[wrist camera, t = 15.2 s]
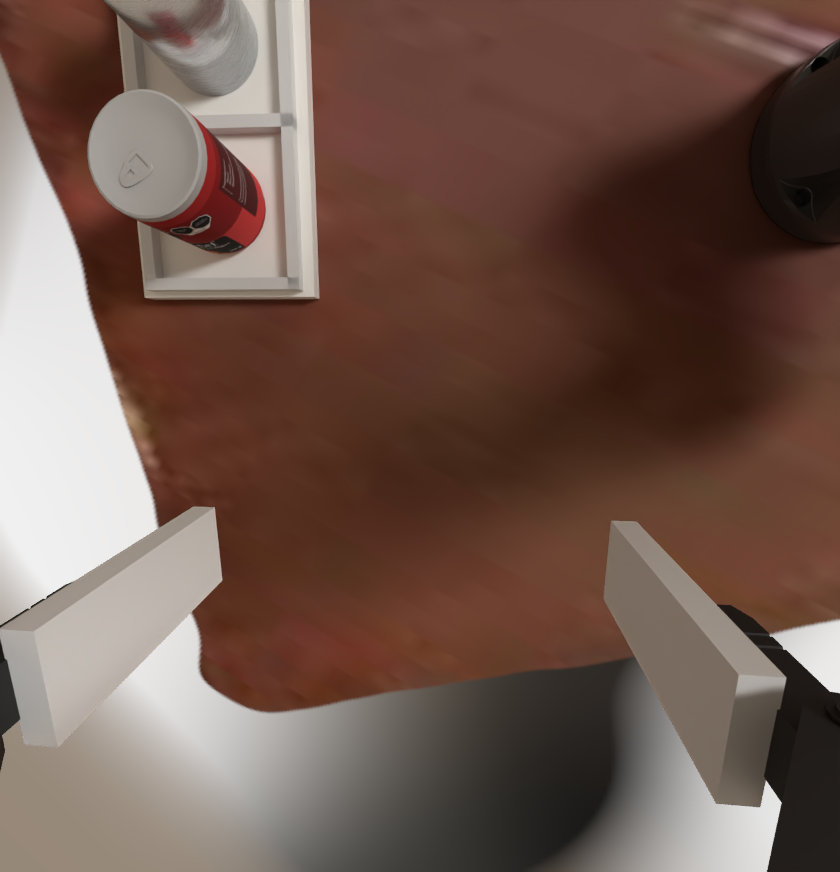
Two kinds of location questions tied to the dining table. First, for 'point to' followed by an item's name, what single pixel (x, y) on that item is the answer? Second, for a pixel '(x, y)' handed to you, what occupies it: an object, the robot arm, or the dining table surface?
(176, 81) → the divided white tray
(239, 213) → the canned food
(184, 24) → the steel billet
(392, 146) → the dining table surface
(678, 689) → the robot arm
